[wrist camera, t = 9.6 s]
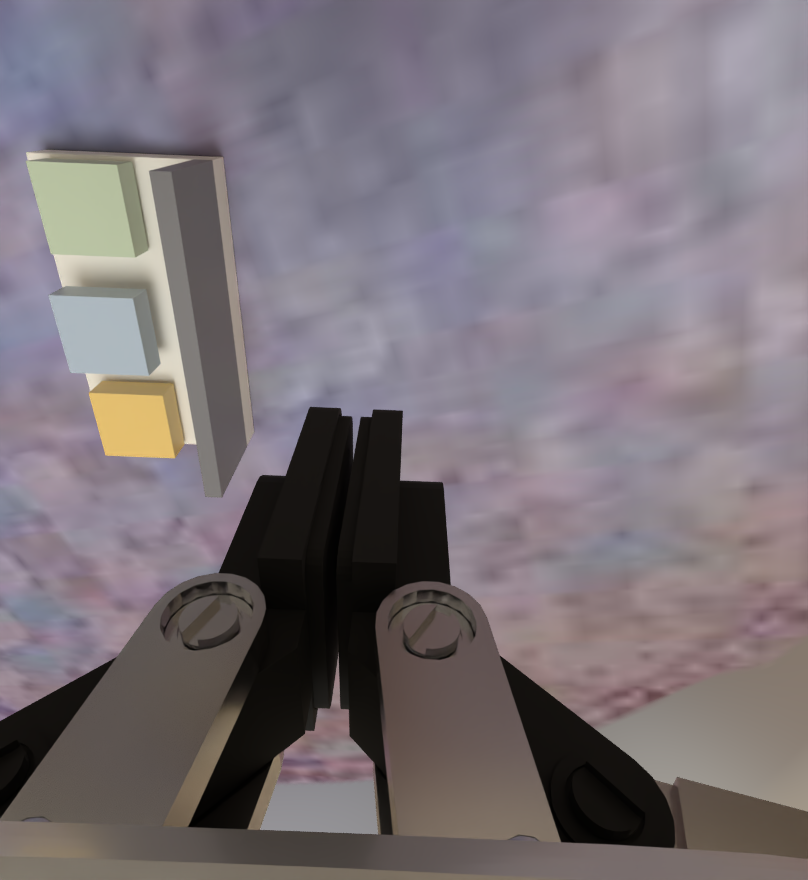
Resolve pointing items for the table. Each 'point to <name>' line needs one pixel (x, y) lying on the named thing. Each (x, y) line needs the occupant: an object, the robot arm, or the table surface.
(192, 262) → the keypad
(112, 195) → the sage key
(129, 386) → the ochre key
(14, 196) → the table surface
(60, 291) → the blue key
